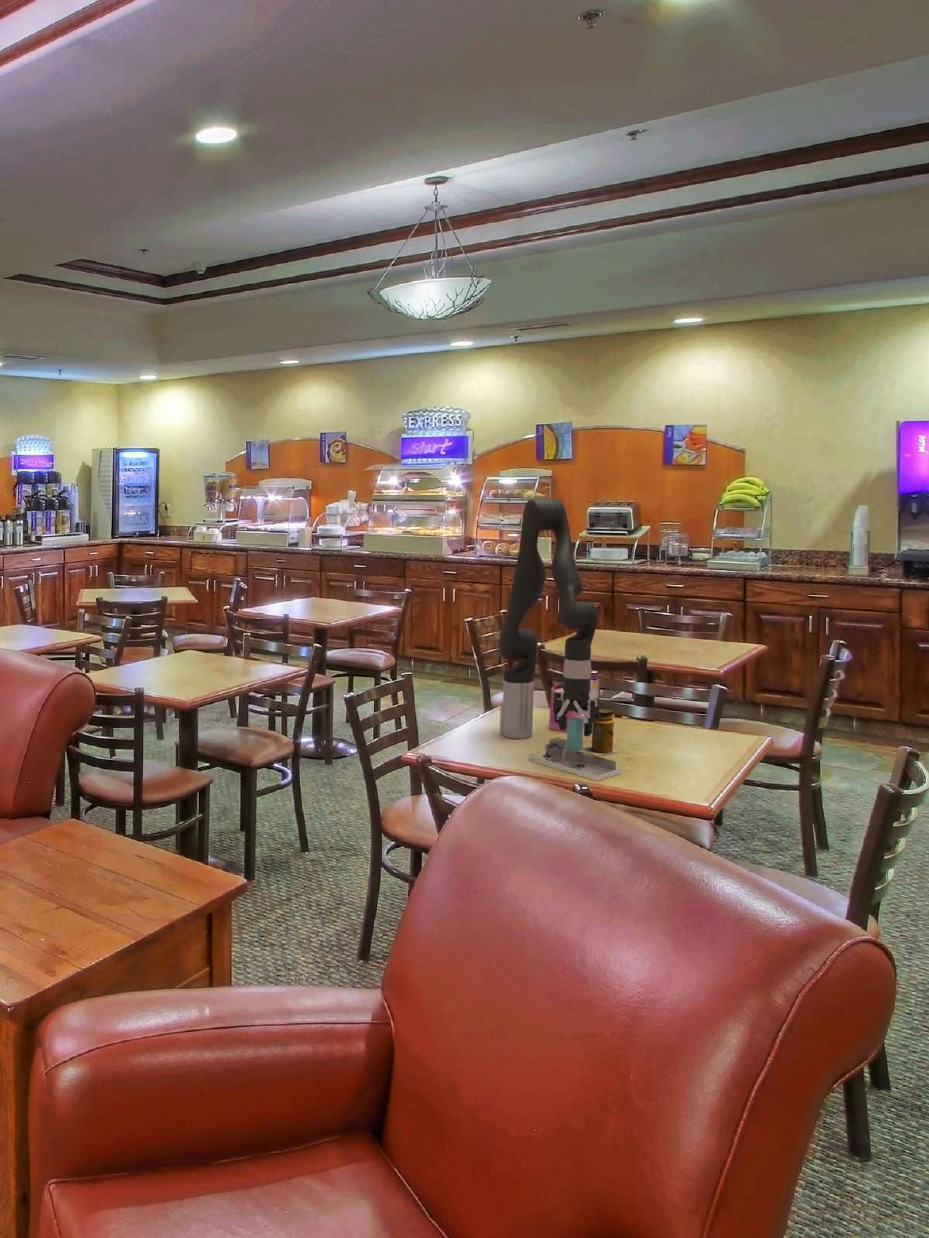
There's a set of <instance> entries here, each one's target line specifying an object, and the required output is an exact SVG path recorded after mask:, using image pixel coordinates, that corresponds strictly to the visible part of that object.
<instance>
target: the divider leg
mask: <svg viewBox="0 0 929 1238" xmlns="http://www.w3.org/2000/svg"><path fill="white" fill-rule="evenodd" d="M566 733H567V734H566V747H565V749H562V760H565V753H569V752H578V751H579V752H582V751H583V748H584V740H583V736H584V726H583V719H580V718H576V717H573V718H569V719H568V727H567V732H566Z"/></svg>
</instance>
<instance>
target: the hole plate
mask: <svg viewBox="0 0 929 1238" xmlns="http://www.w3.org/2000/svg"><path fill="white" fill-rule="evenodd" d="M566 740H567V738H566V739H565V738H562V737H558V736H557V737H555V738H550V739H549V743H545V747H544V748H545V750H543V751H540V752H536V753H531V754H529V755H528V761H530V762H534V763H536V764H540V765H542V766H546V767H550V768H553V769H556V770H558V771H559V770H560V771H562V770H565V771H567V772H566V773H569V772H570V773H569V774H572V773H574V774H573V775H575V774H577V775H576V776H578V777H579V776H580V777H582V778H585V777H586V779H588V780H589V779H590V780H592V781H596V782H600V781H602V780H606V779H609V778H611V777H614V776H617V775H621V773H622V768H621V767H619V766H617V761H616V760H611V759H608V758H604V757H600V756H596V755H593V754H591V753H588V752H586V753H585V752H584V751H583V752H582V751H578V752H569V753H565V760H562V749H565V748H566ZM565 771H564V772H565Z"/></svg>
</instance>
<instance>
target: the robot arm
mask: <svg viewBox="0 0 929 1238" xmlns="http://www.w3.org/2000/svg"><path fill="white" fill-rule="evenodd" d="M568 520H569V518H568V513H567V509H566V507H565V505H564V503H563V501H562V500H561V499H560V498H556V497H537V498H536V497H535V498H530V499H528V500H527V502H526V503H525V505H524V508H523V513H522V520H521V530H520V532H521V533H520V540H519V549H518V555H517V558H516V559H517V560H516V564H515V565H516V566H515V567H514V568H515V569H514V572H513V574H514V575H513V578H512V584H511V590H510V597H509V601H508V606H507V611H506V614H505V618H504V621H503V623H502V627H501V631H500V635H499V638H498V639H499V640H498V649H499V654H500V655H501V657H502V658H503V659H505V660H506V659H508V660H514V659H515V660H516V659H517V660H518V659H519V660H518V662H517V663H516V664H514V665H513V666H511V667H508V668H507V669H505V671H504V672H503V684H502V685H503V686H502V687H503V688H502V689H503V690H502V691H503V694H502V695H503V696H502V702H501V703H500V706H499V707H500V710H499V711H500V713H499V715H500V716H499V734H501V735H502V736H503V737H505V738H508V739H509V738H510V739H519V740H522V739H528V738H531V737H532V736H533V721H534V720H533V718H534V691H535V690H534V687H535V686H534V683H535V682H534V681H535V674H536V668H537V667H536V666H537V656H538V655H537V654H538V638H537V634H536V632H535V630H534V629H533V628H530V627H521V628H520V626H521V624H522V621H523V620H524V618H525V617H526V616H527V614H528V613H529V612H530V611H531V610H532V609H533V607H534V606H535V605H536V604H537V603H538V601H539V600H540V598H542V595H543V591H544V586H545V583H546V578H547V571H546V567H545V564H544V562H543V560H542V557H541V554H540V553H539V549H538V543H539V542H538V540H539V535H540V532H544V531H545V532H548V531H552V533H553V535H554V539H555V551H554V554H553V557H552V561H551V574H552V577H553V582H554V584H555V588H556V590H557V594H558V596H557V598H558V617H559V621H560V622H561V624H562V626H564V627H565V628H566V629H569V630H573V629H577V631H576V633H575V634H574V635H572V636H570V637H568V638H566V639H565V644H564V662H563V669H562V671H563V672H562V673H563V674H562V683H563V691H564V694H563V692H557V693H555V694H554V705H553V713H556V714H557V715H558V716H559V728H560V730H566V728H567V716H566V715H567V714H568V712H569V711H574V712H577V713H579V714H580V715H581V716H582V717H583V719H584V721H585V723H584V726H583V736H584V737H587V738H588V737H590V736H592V729H593V722H595V721H599V709H600V699H599V700H598V699H595V700H592V699H590V698H589V693H590V687H591V678H592V663H591V657H592V655H591V654H592V642H593V639H594V636H595V634H596V629H597V627H598V622H599V610H598V608H597V607H596V605H595V604H594V603H593V602H590V601H580V602H576V601H575V598H576V597H578V596H580V595H581V594H582V593H583V590H584V586H583V582H582V579H581V576H580V573H579V570H578V567H577V563H576V560H575V556H574V551H573V544H572V536H571V531H570V526H569V521H568ZM563 700H564V702H565V703H564V705H563V706H562V703H563ZM588 704H589V706H588ZM589 707H590V708H589ZM584 710H585V712H584Z"/></svg>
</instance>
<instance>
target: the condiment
mask: <svg viewBox="0 0 929 1238" xmlns="http://www.w3.org/2000/svg"><path fill="white" fill-rule="evenodd" d="M613 713H614V712H613V710H611V709H608V708H599V721H595V722H593V723H592V734H591V746H588V747H583V750H582V751H583V752H586V753H587V754H590V755H594V756H597V757H599V756H602V755H607V754H608V755H609V754H615V753H618V752H619V750H615V749H614V748H613V745H614V744H613V743H614V726H615V725H614V724H615V723H614V719H613V718H614V716H613Z"/></svg>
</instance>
